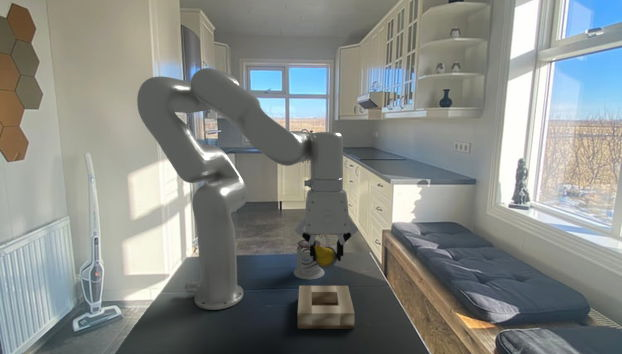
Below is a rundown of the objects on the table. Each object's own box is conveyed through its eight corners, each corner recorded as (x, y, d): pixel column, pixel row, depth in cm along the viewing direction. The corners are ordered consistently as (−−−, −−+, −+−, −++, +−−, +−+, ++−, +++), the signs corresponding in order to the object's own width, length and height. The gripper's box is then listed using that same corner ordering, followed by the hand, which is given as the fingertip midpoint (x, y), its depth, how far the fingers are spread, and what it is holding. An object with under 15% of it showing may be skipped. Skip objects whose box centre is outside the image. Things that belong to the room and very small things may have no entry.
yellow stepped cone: (343, 269, 81) (326, 251, 74) (323, 276, 82) (305, 259, 75) (339, 250, 84) (323, 232, 78) (320, 257, 86) (303, 239, 79)
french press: (289, 268, 107) (289, 193, 103) (321, 263, 112) (322, 190, 108) (300, 281, 98) (300, 199, 94) (335, 275, 103) (336, 196, 99)
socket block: (297, 328, 76) (297, 313, 75) (299, 298, 89) (299, 285, 88) (354, 328, 76) (354, 313, 75) (347, 299, 89) (347, 285, 88)
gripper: (289, 188, 73) (290, 265, 76) (365, 187, 73) (364, 265, 76) (290, 182, 81) (291, 253, 84) (360, 182, 81) (359, 252, 84)
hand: (326, 258), depth 80 cm, fingers closed on yellow stepped cone, 5 cm apart
